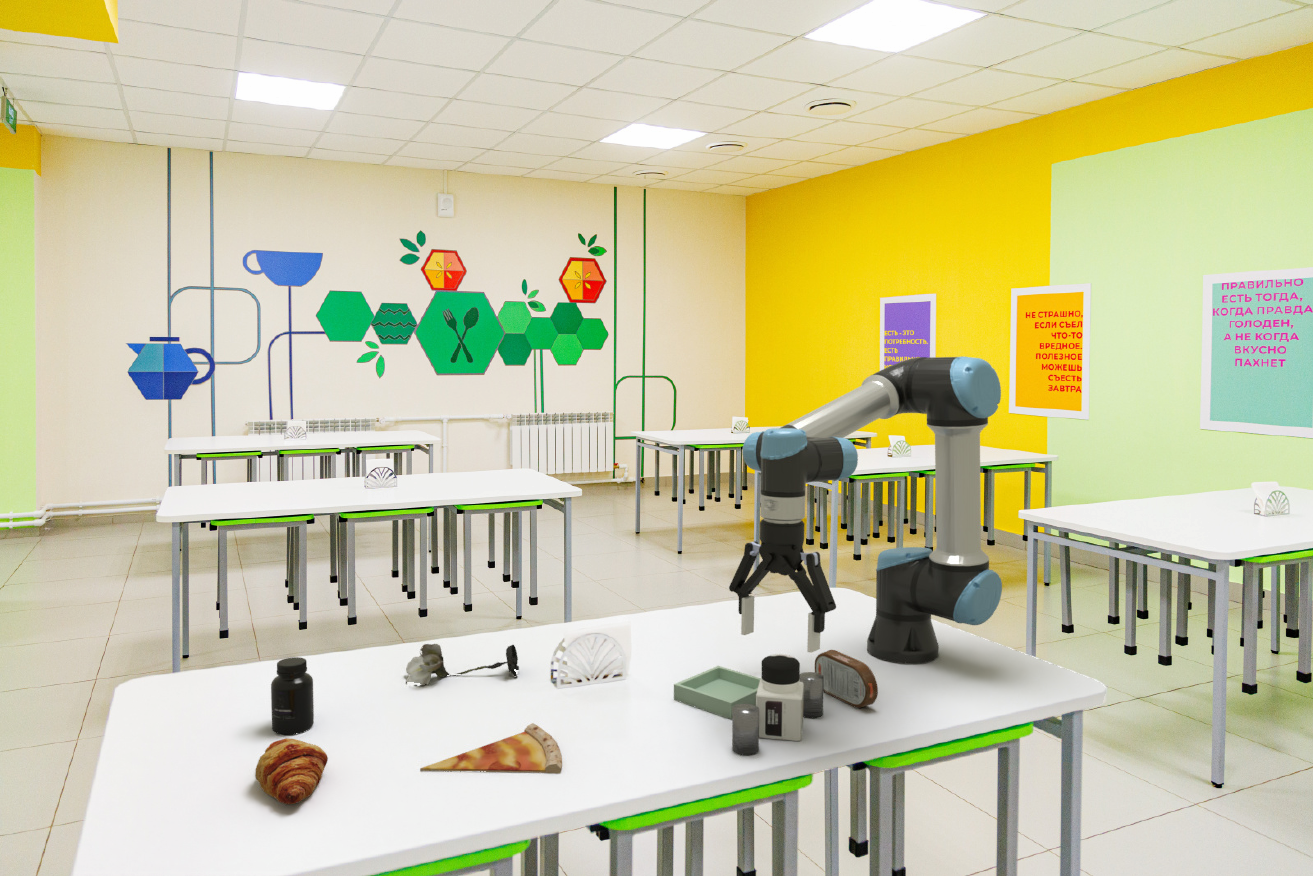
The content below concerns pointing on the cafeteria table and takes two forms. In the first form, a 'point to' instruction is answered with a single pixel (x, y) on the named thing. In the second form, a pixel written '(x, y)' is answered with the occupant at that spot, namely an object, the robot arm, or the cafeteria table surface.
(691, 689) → the tray
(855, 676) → the tin
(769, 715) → the container
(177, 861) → the cafeteria table surface
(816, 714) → the post
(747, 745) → the post
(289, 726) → the supplement bottle
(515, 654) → the artificial flower
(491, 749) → the pizza slice
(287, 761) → the croissant
